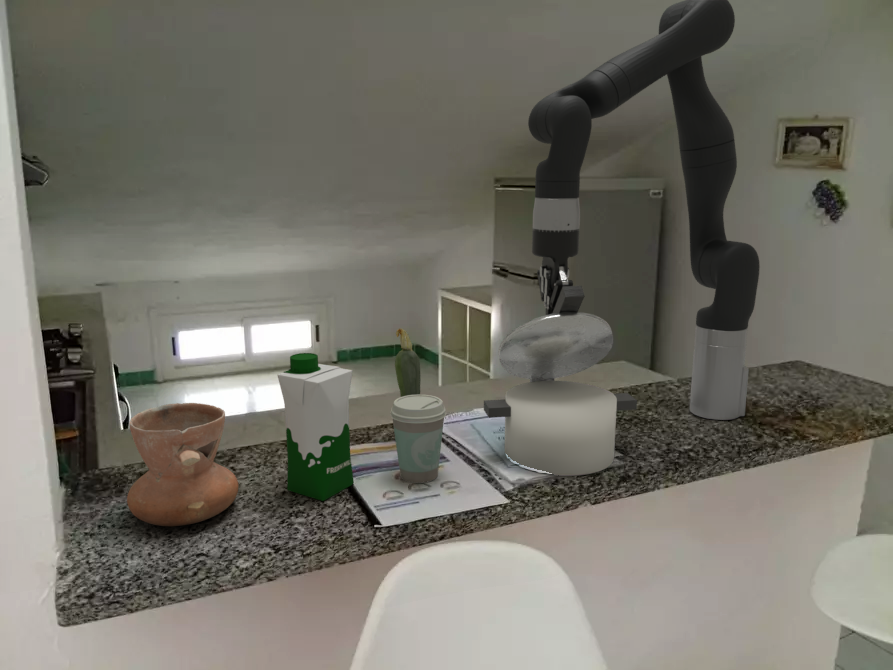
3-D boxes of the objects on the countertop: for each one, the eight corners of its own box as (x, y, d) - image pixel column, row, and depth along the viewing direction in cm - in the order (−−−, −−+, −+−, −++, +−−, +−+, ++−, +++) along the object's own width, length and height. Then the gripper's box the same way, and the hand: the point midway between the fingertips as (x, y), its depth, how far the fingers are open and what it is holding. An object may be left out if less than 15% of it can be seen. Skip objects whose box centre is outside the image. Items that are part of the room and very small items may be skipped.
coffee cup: (405, 491, 106) (404, 414, 104) (383, 470, 114) (381, 398, 111) (456, 480, 110) (456, 405, 107) (431, 460, 117) (430, 390, 115)
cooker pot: (609, 430, 131) (612, 377, 128) (651, 470, 113) (655, 409, 111) (475, 438, 127) (475, 384, 125) (497, 480, 110) (498, 418, 107)
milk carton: (318, 470, 114) (312, 348, 109) (363, 483, 109) (359, 355, 105) (278, 491, 106) (270, 360, 102) (324, 506, 102) (318, 369, 97)
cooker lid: (592, 384, 130) (588, 367, 132) (637, 302, 109) (631, 284, 111) (489, 389, 127) (487, 372, 129) (515, 306, 107) (511, 287, 108)
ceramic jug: (253, 525, 96) (247, 423, 93) (136, 551, 89) (125, 442, 87) (224, 479, 112) (218, 390, 109) (122, 498, 105) (113, 404, 102)
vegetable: (422, 434, 129) (421, 325, 125) (419, 443, 125) (418, 330, 120) (398, 433, 130) (396, 325, 125) (394, 442, 125) (391, 330, 121)
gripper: (592, 229, 111) (587, 338, 115) (566, 222, 123) (562, 320, 128) (544, 230, 110) (541, 340, 114) (523, 222, 122) (521, 322, 127)
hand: (552, 329), depth 121 cm, fingers closed
